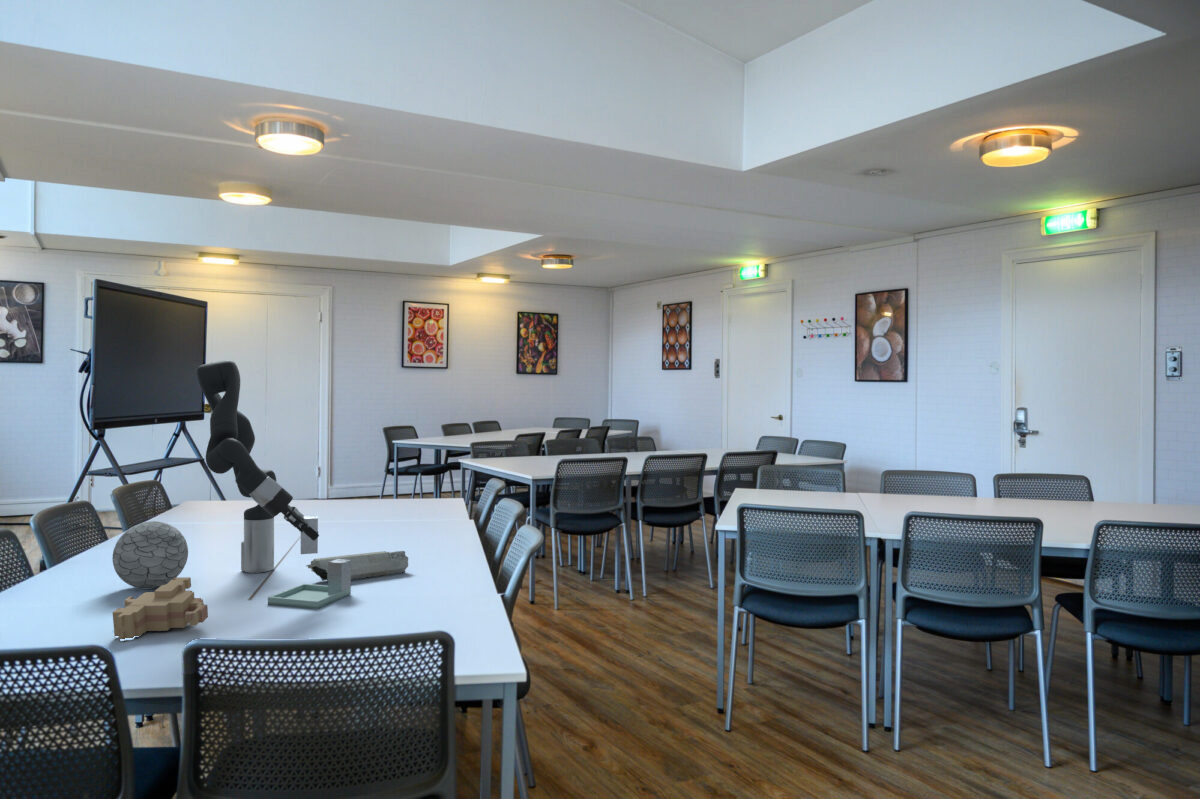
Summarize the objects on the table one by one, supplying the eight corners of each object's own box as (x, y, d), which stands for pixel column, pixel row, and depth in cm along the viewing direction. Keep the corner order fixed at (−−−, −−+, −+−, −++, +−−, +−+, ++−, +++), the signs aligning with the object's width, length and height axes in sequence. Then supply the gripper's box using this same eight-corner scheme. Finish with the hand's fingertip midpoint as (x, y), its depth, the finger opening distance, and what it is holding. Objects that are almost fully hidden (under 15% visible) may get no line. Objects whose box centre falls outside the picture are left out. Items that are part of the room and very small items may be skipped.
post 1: (300, 554, 225) (300, 519, 225) (300, 551, 229) (300, 516, 229) (317, 553, 227) (317, 518, 227) (317, 550, 231) (317, 515, 231)
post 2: (327, 596, 231) (328, 561, 231) (337, 592, 235) (337, 559, 235) (341, 597, 230) (341, 563, 230) (350, 594, 234) (351, 560, 234)
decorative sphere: (96, 592, 234) (96, 524, 233) (155, 577, 252) (155, 514, 252) (146, 599, 227) (146, 529, 226) (203, 583, 245) (203, 518, 245)
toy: (145, 577, 208) (102, 610, 188) (222, 577, 209) (187, 609, 189) (148, 613, 209) (106, 649, 190) (224, 612, 210) (190, 648, 191)
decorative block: (408, 574, 260) (408, 551, 260) (314, 587, 242) (314, 562, 242) (398, 569, 267) (398, 547, 266) (306, 582, 248) (307, 558, 248)
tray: (267, 604, 223) (267, 597, 223) (303, 590, 238) (303, 583, 238) (317, 608, 219) (317, 601, 218) (350, 594, 234) (350, 587, 234)
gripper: (261, 502, 230) (306, 541, 234) (259, 509, 216) (307, 551, 221) (281, 483, 232) (325, 522, 236) (281, 489, 218) (327, 531, 223)
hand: (316, 536), depth 229 cm, fingers closed on post 1, 4 cm apart
